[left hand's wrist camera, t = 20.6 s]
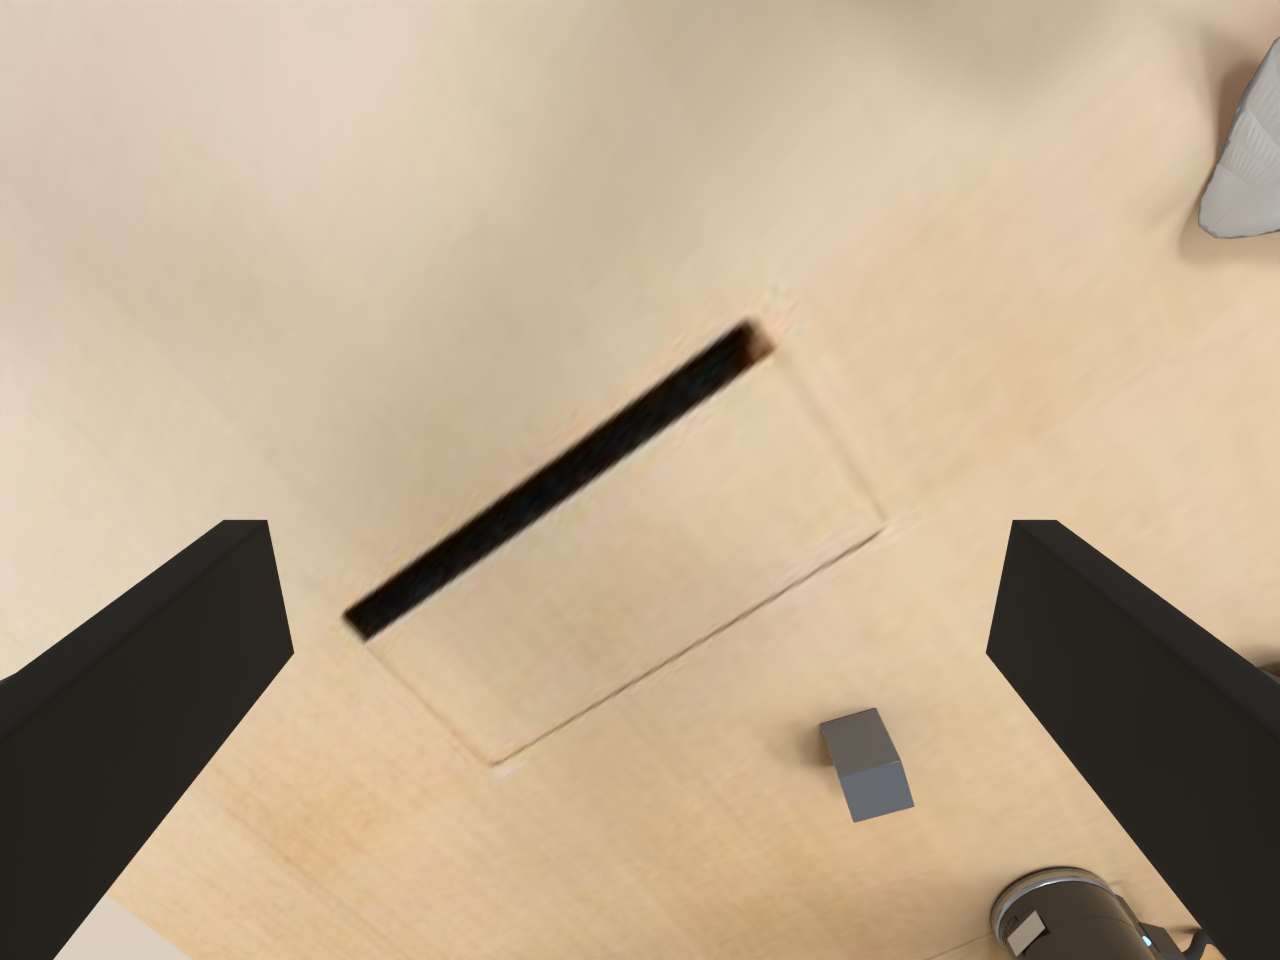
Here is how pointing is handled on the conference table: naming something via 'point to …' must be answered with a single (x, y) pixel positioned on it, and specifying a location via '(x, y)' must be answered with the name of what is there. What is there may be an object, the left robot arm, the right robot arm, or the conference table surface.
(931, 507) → the conference table surface
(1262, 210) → the fish
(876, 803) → the grey block
